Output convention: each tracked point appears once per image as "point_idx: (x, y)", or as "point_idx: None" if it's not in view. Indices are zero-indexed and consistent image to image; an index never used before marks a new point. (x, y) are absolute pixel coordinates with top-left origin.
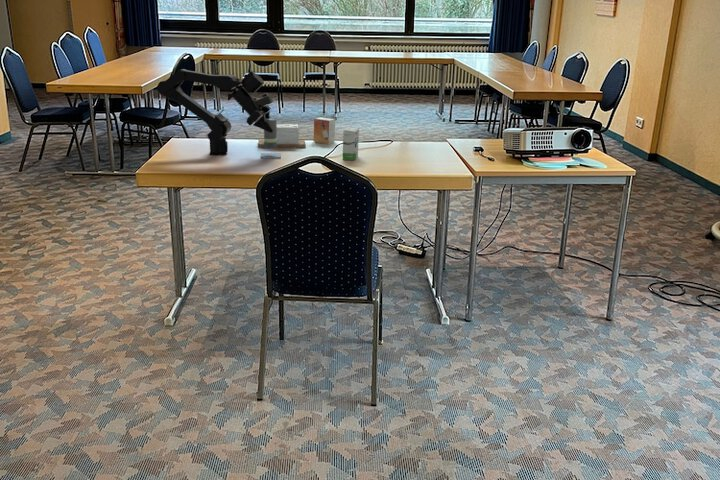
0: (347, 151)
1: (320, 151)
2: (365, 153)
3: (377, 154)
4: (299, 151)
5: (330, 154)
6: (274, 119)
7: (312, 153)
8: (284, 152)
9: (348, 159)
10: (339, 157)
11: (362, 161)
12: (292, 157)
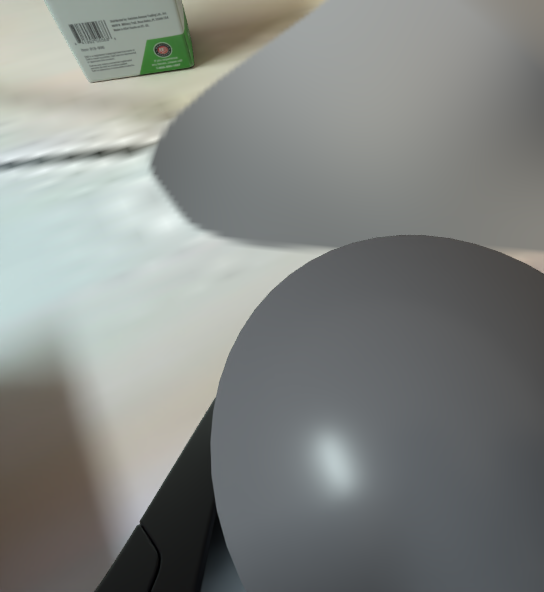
0: (180, 4)
1: (22, 216)
2: (16, 42)
3: (25, 6)
4: (59, 327)
5: (91, 146)
6: (335, 318)
7: (97, 232)
8: (130, 411)
9: (191, 45)
10: (148, 92)
11: (191, 7)
12: (265, 287)
